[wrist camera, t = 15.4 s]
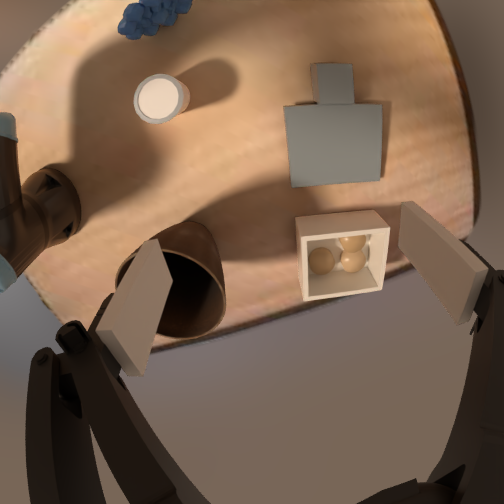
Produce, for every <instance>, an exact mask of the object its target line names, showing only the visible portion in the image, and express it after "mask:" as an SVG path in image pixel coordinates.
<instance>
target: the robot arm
mask: <svg viewBox="0 0 504 504" xmlns="http://www.w3.org/2000/svg"><path fill="white" fill-rule="evenodd" d="M17 143H18V138H17V134H16V120H15V117H14V116H13V115H12V114H11V113H7V112H0V293H3V292H4V291H5V290H6V289H7V288H8V287H9V286H10V285H11V284H13V283H15V282H16V280H17V278H18V277H19V276H20V275H21V274H22V273H23V272H24V270H25V269H26V268H27V267H28V266H29V265H30V264H31V263H32V262H33V261H34V260H35V259H36V258H37V257H38V256H39V255H40V254H41V253H42V252H43V251H44V250H45V249H46V248H49V247H52V246H55V245H58V244H60V243H63V242H65V241H66V240H68V239H69V238H70V237H71V236H72V235H73V234H74V233H75V232H76V230H77V228H78V226H79V223H80V219H81V206H80V201H79V197H78V195H77V192H76V190H75V188H74V186H73V185H72V183H71V182H70V180H69V179H68V178H67V177H66V176H65V175H64V174H62V173H61V172H59V171H57V170H55V169H51V168H45V169H41V170H39V171H37V172H35V173H34V174H32V175H31V176H30V177H28V179H27V180H26V181H25V182H24V184H23V185H22V186H21V183H20V175H19V164H18V150H17ZM398 247H399V249H400V250H401V251H402V252H403V253H404V255H405V256H406V257H407V258H408V260H409V261H410V262H411V263H412V265H413V266H414V267H415V268H416V270H417V271H418V272H419V274H420V275H421V276H422V277H423V279H424V280H425V281H426V283H427V284H428V285H429V287H430V288H431V289H432V291H433V292H434V293H435V295H436V296H437V297H438V299H439V300H440V302H441V303H442V304H443V306H444V307H445V309H446V310H447V312H448V313H449V315H450V316H451V318H452V319H453V320H454V322H455V323H456V325H460V324H462V323H465V322H468V321H469V320H470V318H471V315H472V313H473V311H475V313H476V314H477V315H478V316H477V318H476V321H475V323H474V325H473V327H472V329H471V331H470V335H472V333H473V331H474V335H473V342H472V350H471V355H470V361H469V367H468V372H467V376H466V381H465V386H464V389H463V394H462V398H461V402H460V405H459V409H458V412H457V415H456V419H455V422H454V425H453V428H452V431H451V434H450V437H449V440H448V443H447V445H446V448H445V451H444V453H443V455H442V458H441V460H440V461H439V463H438V464H437V466H436V467H435V468H434V470H433V471H432V473H431V475H430V476H429V478H428V480H427V482H420V483H417V480H416V478H415V479H413V480H410V481H408V482H405V483H402V484H399V485H396V486H394V487H391V488H387V489H384V490H382V491H380V492H378V493H376V494H374V495H373V496H371V497H369V498H367V499H365V500H363V501H361V502H359V503H357V504H504V270H497V271H496V270H495V269H494V268H493V267H492V266H491V265H489V263H488V262H487V261H486V260H485V259H484V258H483V257H482V256H480V255H479V254H478V253H477V252H476V251H475V250H474V249H473V248H472V247H471V246H470V245H469V244H467V243H466V242H464V241H462V240H460V239H457V238H456V237H455V236H454V235H453V234H452V233H451V232H450V231H448V230H447V229H446V228H445V227H444V226H443V225H442V224H440V223H439V222H438V221H437V220H436V219H434V218H433V217H432V216H431V215H430V214H428V213H427V212H426V211H425V210H423V209H422V208H421V207H420V206H418V205H417V204H416V203H415V202H413V201H409V202H401V217H400V229H399V239H398ZM172 282H173V280H172V277H171V275H170V272H169V270H168V267H167V264H166V261H165V259H164V256H163V253H162V250H161V248H160V245H159V242H158V239H153V240H148V241H144V243H143V245H142V246H141V248H140V250H139V251H138V253H137V255H136V256H135V258H134V260H133V261H132V263H131V265H130V266H129V268H128V270H127V272H126V273H125V275H124V277H123V279H122V281H121V282H120V284H119V286H118V288H117V290H116V291H115V293H111V294H110V295H109V296H108V297H107V298H106V299H105V300H104V301H103V303H102V305H101V306H100V310H98V312H97V314H96V316H95V318H94V320H93V321H92V323H91V325H90V327H89V329H88V331H86V329H85V328H84V326H83V325H82V323H81V322H80V321H77V320H74V321H70V322H68V323H66V324H65V325H63V326H62V327H61V328H60V329H59V330H58V332H57V334H56V339H55V340H56V341H57V343H58V344H59V345H60V347H61V348H62V349H63V351H64V353H61V354H57V355H56V354H55V353H54V352H53V351H52V349H51V348H48V347H45V348H42V349H40V350H39V351H37V352H36V353H35V355H34V357H33V358H32V361H31V366H30V374H29V383H28V392H27V405H26V433H25V434H26V436H25V437H26V439H25V440H26V467H27V478H28V487H29V495H30V502H31V504H106V501H105V497H104V494H103V490H102V486H101V483H100V478H99V474H98V470H97V465H96V461H95V455H94V450H93V445H92V439H91V433H90V426H91V429H92V431H93V434H94V436H95V438H96V441H97V443H98V445H99V447H100V449H101V452H102V453H103V456H104V458H105V460H106V462H107V464H108V466H109V468H110V470H111V472H112V474H113V475H114V477H115V479H116V481H117V483H118V484H119V486H120V488H121V490H122V491H123V493H124V495H125V496H126V498H127V500H128V501H129V503H130V504H211V503H210V502H209V501H207V499H206V498H205V497H204V496H203V495H202V494H201V493H200V492H199V491H198V489H197V488H196V487H195V486H194V485H193V483H192V482H191V481H190V480H189V479H188V477H187V476H186V475H185V474H184V472H183V471H182V470H181V469H180V467H179V466H178V465H177V463H176V462H175V461H174V459H173V458H172V457H171V456H170V454H169V453H168V451H167V450H166V449H165V447H164V446H163V444H162V443H161V442H160V440H159V439H158V437H157V436H156V434H155V433H154V431H153V430H152V428H151V427H150V425H149V424H148V422H147V421H146V419H145V417H144V416H143V414H142V413H141V411H140V409H139V408H138V406H137V404H136V403H135V401H134V399H133V397H132V396H131V394H130V392H129V390H128V389H127V387H126V385H125V383H124V382H123V380H122V378H121V377H120V376H119V373H120V370H121V368H122V369H123V371H124V372H125V373H126V374H127V376H143V375H144V372H145V368H146V365H147V361H148V357H149V354H150V351H151V347H152V344H153V341H154V337H155V334H156V331H157V327H158V324H159V321H160V318H161V315H162V312H163V309H164V305H165V302H166V299H167V296H168V293H169V290H170V287H171V284H172ZM89 424H90V425H89Z"/></svg>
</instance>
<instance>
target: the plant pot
mask: <svg viewBox="0 0 504 504" xmlns="http://www.w3.org/2000/svg"><path fill="white" fill-rule="evenodd" d="M153 239H158V242H159V245H160V248H161V250H162V253H163V256H164V259H165V261H166V264H167V267H168V270H169V272H170V275H171V277H172V280H173V282H172V284H171V287H170V290H169V293H168V296H167V299H166V302H165V305H164V309H163V312H162V315H161V318H160V321H159V324H158V327H157V331H156V334H157V335H160V336H162V337H166V338H172V339H193V338H197V337H201V336H204V335H206V334H208V333H210V332H211V331H213V330H214V329H215V328H216V327H217V326H218V325H219V324H220V322H221V321H222V319H223V317H224V314H225V311H226V296H225V283H224V275H223V269H222V264H221V260H220V256H219V253H218V250H217V247H216V244H215V242H214V240H213V238H212V236H211V234H210V232H209V231H208V230H207V228H205V227H204V226H203V225H201V224H199V223H196V222H191V221H190V222H183V223H179V224H176V225H173V226H171V227H169V228H167V229H165V230H163V231H161V232H159V233H158V234H156V235H154V236H153V237H152V238H150V239H149V240H153ZM147 241H148V240H147ZM142 245H143V244H142ZM142 245H141V246H142ZM141 246H140V247H139V248H138V249H136V250H135V251H134V252H133V253H132V254H131V255H130V256H129V257H128V258H127V259H126V260H125V261H124V262H123V263H122V264H121V266H120V267H119V269H118V271H117V274H116V278H115V289H116V290H117V288H118V286H119V284H120V282H121V281H122V279H123V277H124V275H125V273H126V272H127V270H128V268H129V266H130V265H131V263H132V261H133V260H134V258H135V256H136V255H137V253H138V251H139V250H140V248H141Z"/></svg>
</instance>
